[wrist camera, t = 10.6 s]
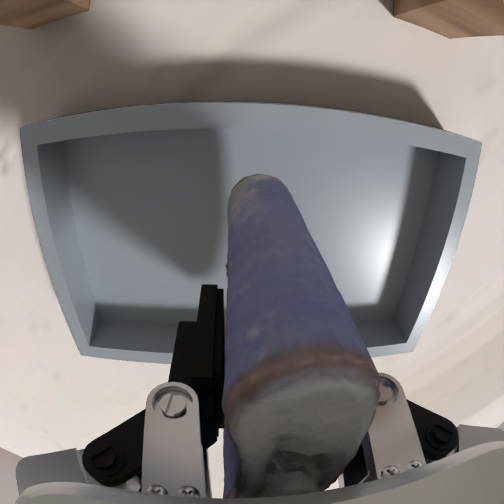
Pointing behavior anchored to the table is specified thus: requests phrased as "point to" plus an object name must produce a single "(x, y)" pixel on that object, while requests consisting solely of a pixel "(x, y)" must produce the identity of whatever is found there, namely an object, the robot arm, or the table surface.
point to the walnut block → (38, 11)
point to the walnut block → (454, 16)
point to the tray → (215, 212)
